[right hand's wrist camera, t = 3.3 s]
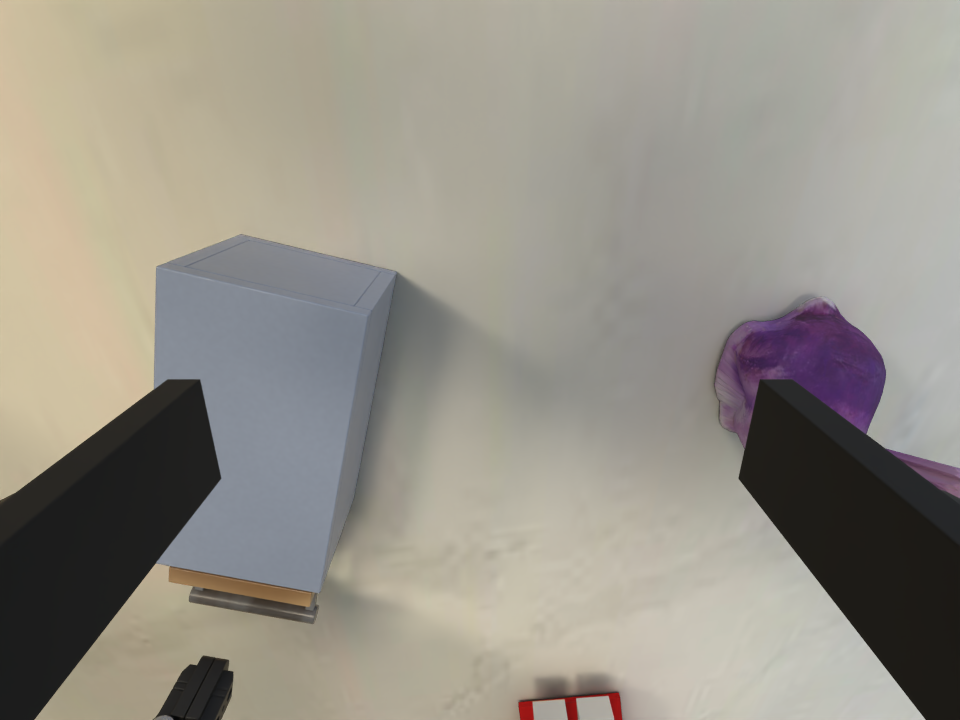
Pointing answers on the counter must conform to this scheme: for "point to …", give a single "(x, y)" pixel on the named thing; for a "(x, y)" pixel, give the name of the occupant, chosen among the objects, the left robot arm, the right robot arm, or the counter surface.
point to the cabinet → (273, 399)
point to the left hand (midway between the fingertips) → (216, 667)
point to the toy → (573, 708)
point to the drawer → (247, 595)
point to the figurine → (812, 373)
